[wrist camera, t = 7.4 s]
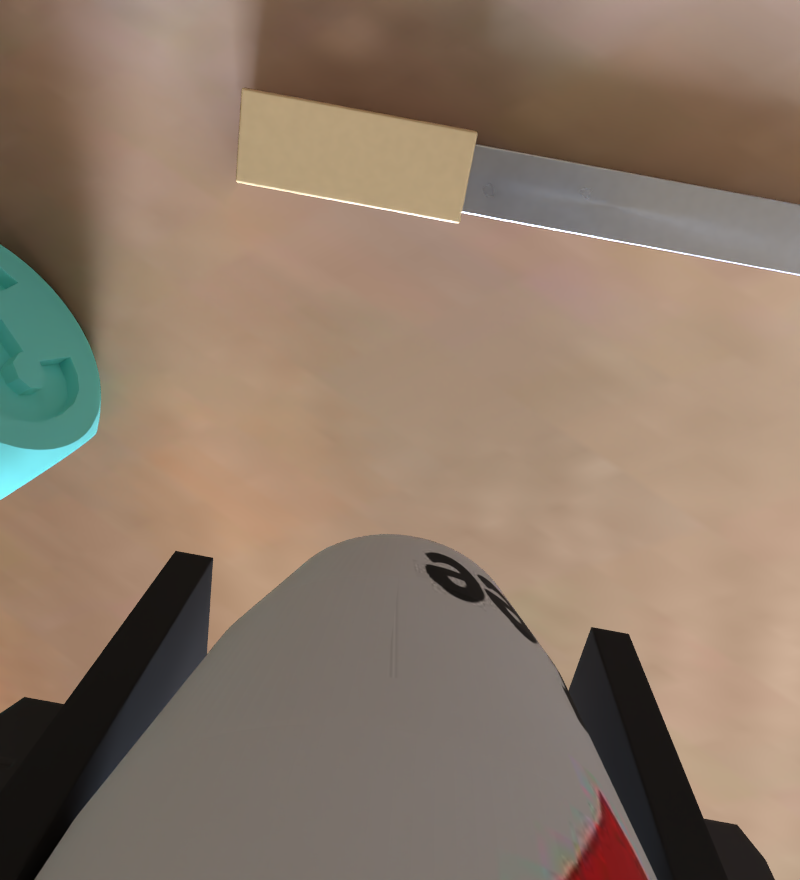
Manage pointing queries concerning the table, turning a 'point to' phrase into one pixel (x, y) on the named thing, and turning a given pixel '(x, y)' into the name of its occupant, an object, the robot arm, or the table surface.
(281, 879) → the cup
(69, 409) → the decorative dice
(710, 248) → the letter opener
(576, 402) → the table surface
